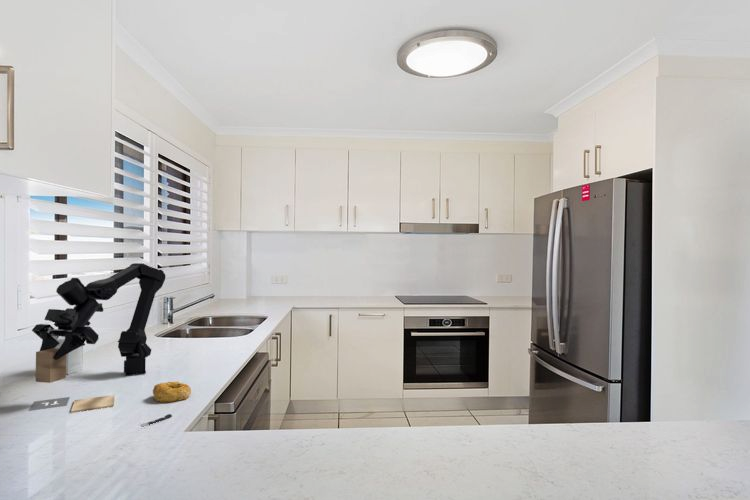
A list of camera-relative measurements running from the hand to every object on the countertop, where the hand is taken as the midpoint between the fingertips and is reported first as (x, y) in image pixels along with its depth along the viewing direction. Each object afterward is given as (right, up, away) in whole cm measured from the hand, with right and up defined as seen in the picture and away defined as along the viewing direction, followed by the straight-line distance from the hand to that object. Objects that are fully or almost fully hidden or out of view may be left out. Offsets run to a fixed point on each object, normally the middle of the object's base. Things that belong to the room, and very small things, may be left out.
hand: (46, 358), depth 122 cm
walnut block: (0, -7, +1) cm, 7 cm away
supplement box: (-20, -14, +35) cm, 42 cm away
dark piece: (+34, -14, -15) cm, 40 cm away
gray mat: (0, -14, +1) cm, 13 cm away
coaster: (+13, -14, +1) cm, 19 cm away
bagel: (+32, -14, +8) cm, 36 cm away
